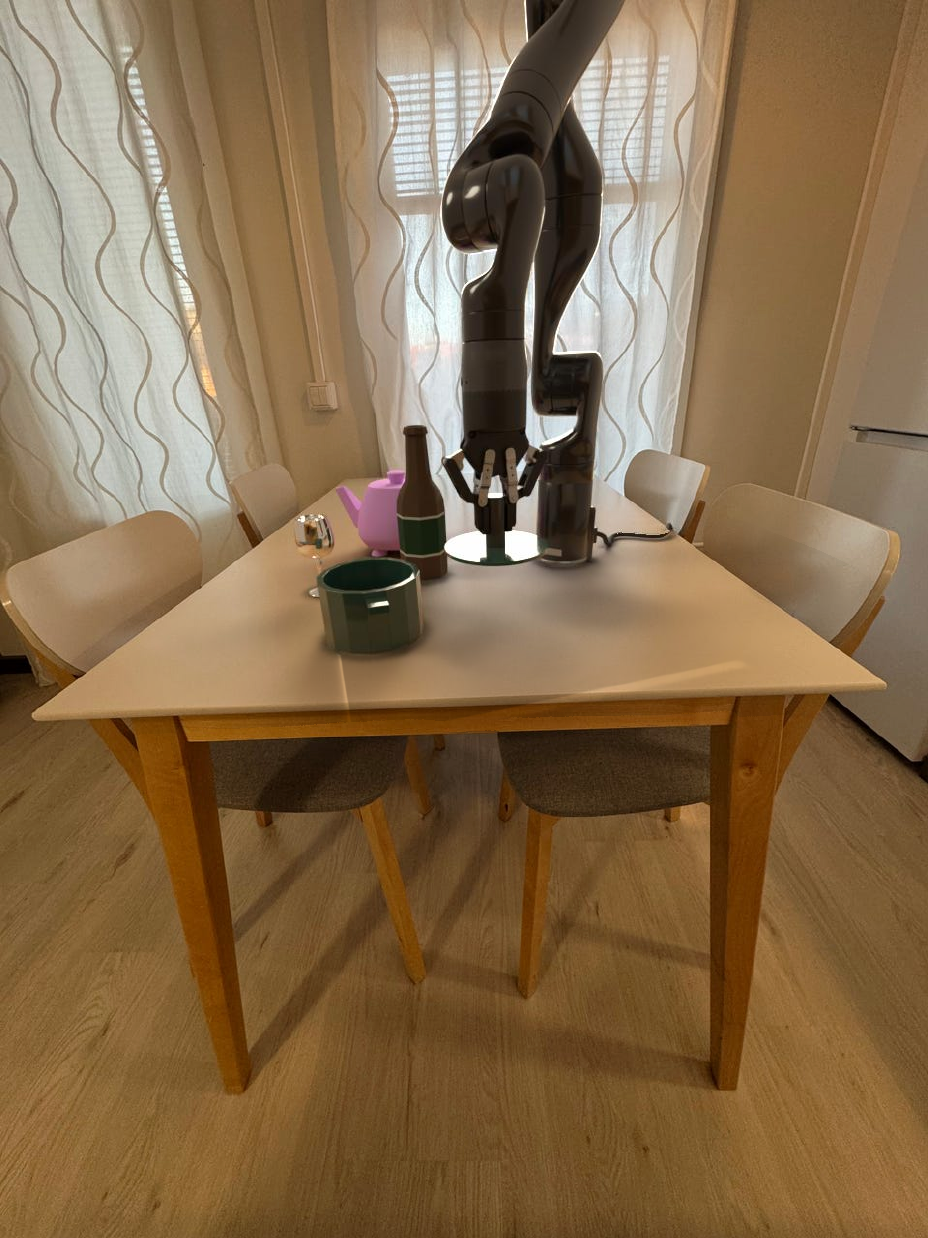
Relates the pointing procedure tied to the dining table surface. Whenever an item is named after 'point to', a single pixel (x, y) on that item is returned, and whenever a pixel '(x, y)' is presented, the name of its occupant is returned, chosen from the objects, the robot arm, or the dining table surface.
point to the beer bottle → (421, 510)
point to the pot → (371, 605)
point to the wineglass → (314, 539)
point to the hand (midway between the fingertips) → (495, 531)
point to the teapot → (376, 512)
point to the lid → (496, 542)
